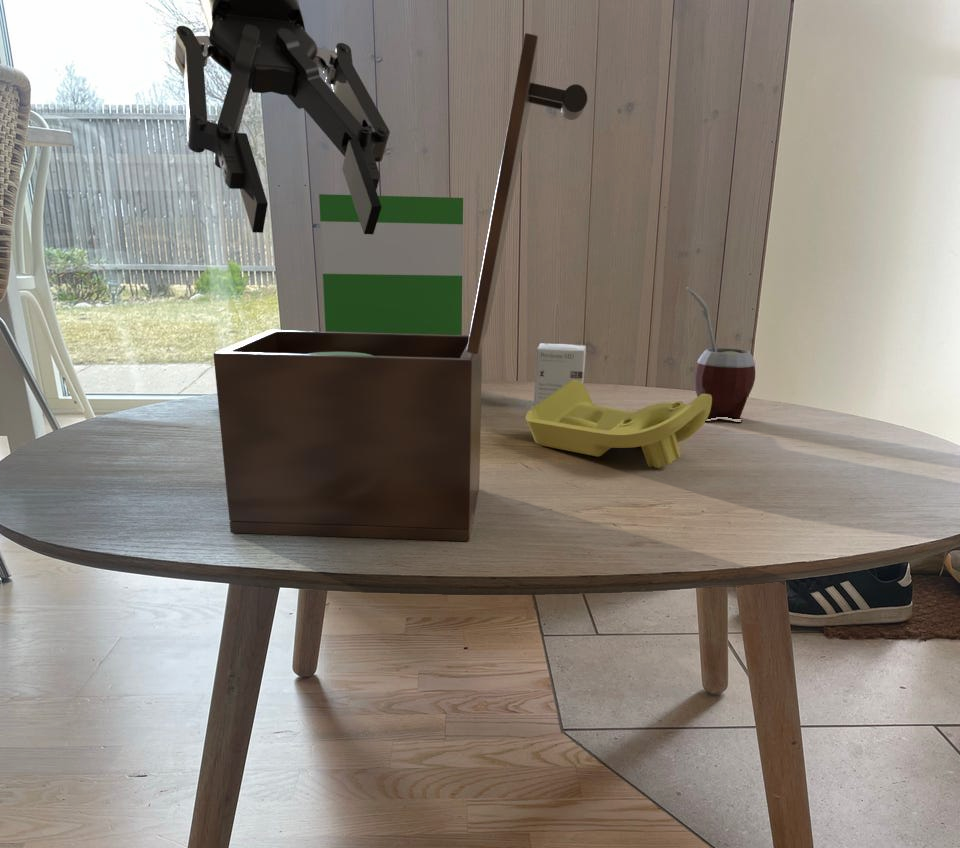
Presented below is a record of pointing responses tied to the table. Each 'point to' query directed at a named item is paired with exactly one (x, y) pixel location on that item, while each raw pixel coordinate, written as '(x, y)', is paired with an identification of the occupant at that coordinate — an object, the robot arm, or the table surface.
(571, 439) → the plastic component
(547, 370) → the product carton
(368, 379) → the chest
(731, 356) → the mate gourd
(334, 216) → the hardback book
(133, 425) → the table surface
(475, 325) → the lid
